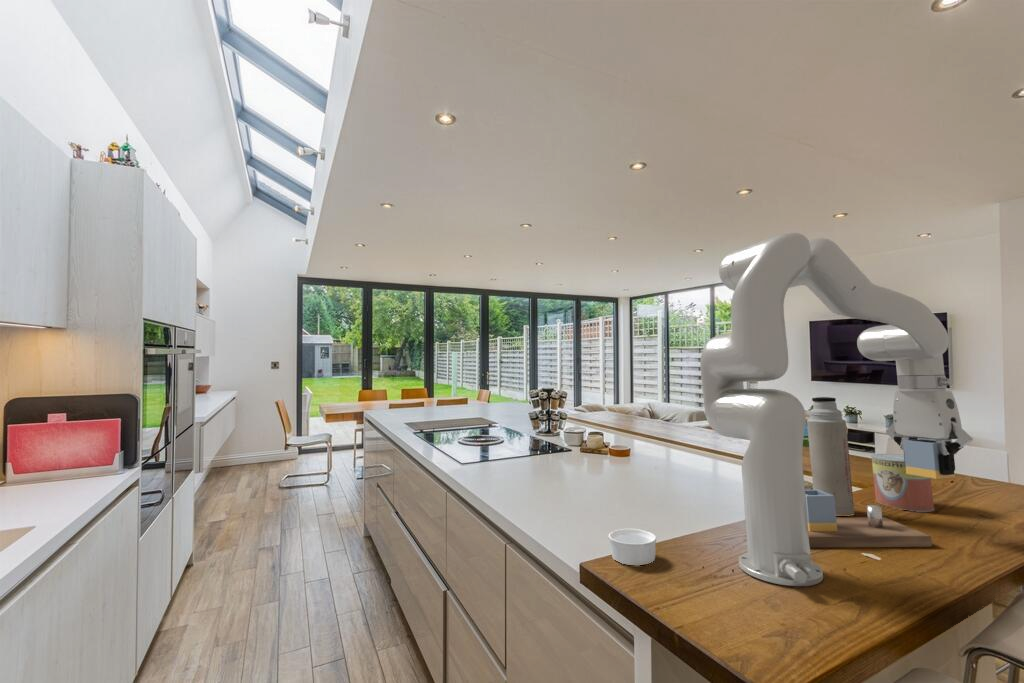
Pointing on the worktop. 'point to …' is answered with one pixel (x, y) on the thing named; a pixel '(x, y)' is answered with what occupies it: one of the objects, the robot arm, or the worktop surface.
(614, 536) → the ramekin
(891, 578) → the worktop surface
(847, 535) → the pin board
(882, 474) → the canned food
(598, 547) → the worktop surface
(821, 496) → the seated sleeve
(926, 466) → the slate sleeve
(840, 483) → the thermos bottle
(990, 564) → the worktop surface
